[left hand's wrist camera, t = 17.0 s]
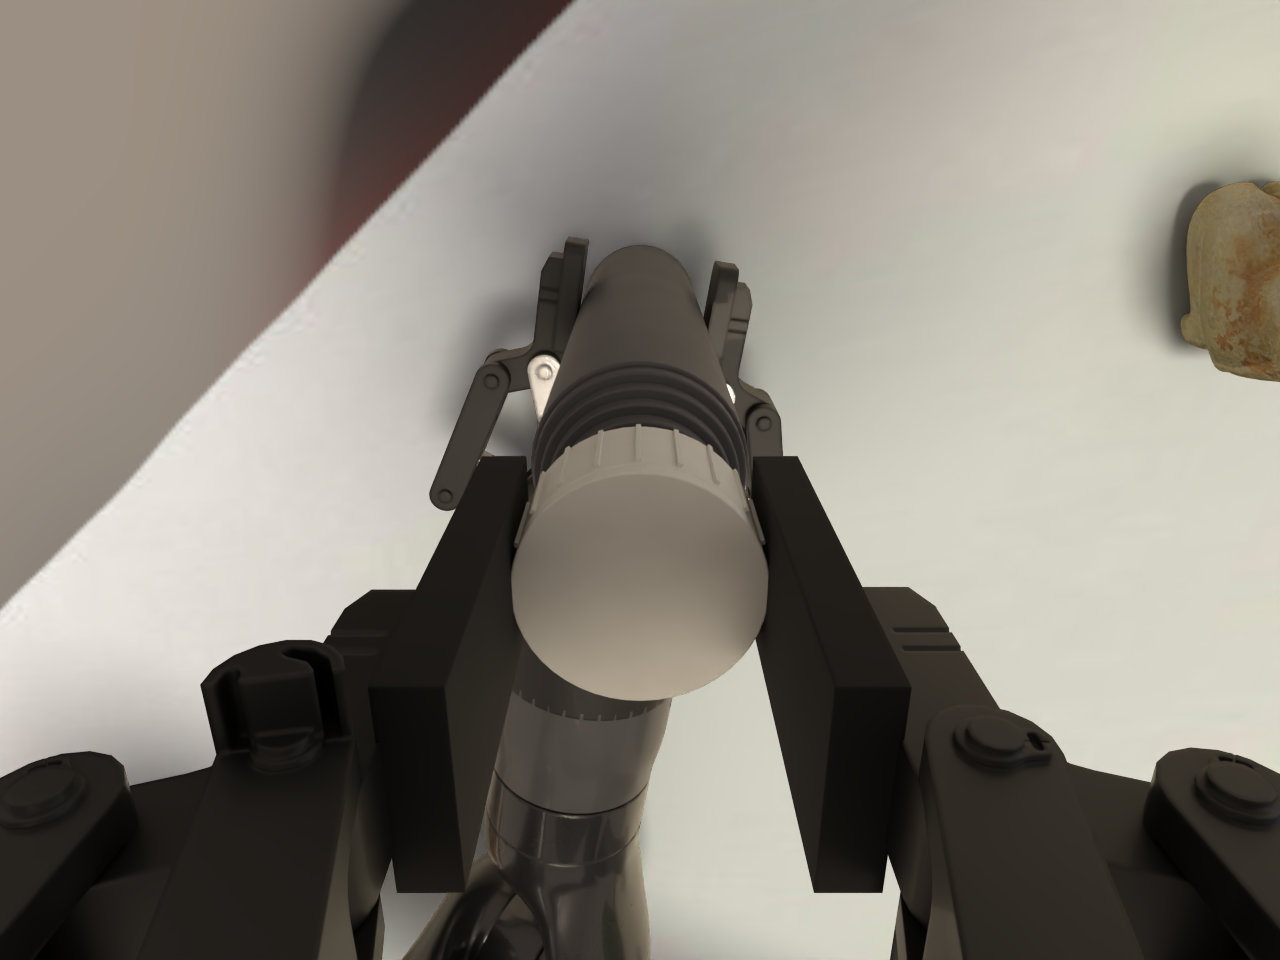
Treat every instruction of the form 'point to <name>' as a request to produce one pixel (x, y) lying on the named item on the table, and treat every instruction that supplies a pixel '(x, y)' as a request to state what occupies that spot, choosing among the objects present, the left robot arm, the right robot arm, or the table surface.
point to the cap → (639, 565)
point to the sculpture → (1236, 280)
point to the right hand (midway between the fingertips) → (651, 255)
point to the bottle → (639, 364)
